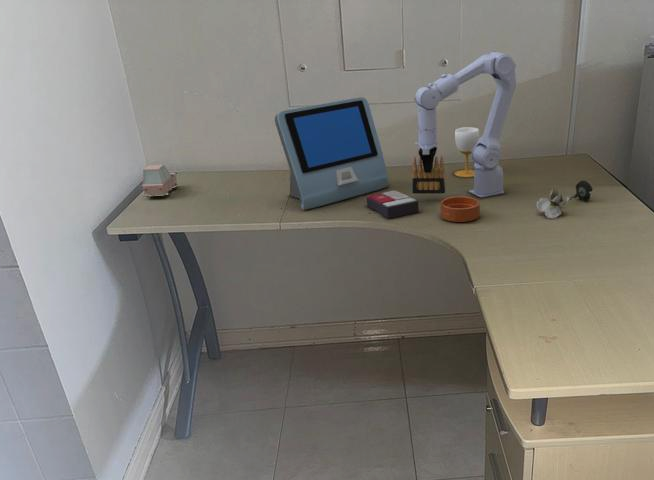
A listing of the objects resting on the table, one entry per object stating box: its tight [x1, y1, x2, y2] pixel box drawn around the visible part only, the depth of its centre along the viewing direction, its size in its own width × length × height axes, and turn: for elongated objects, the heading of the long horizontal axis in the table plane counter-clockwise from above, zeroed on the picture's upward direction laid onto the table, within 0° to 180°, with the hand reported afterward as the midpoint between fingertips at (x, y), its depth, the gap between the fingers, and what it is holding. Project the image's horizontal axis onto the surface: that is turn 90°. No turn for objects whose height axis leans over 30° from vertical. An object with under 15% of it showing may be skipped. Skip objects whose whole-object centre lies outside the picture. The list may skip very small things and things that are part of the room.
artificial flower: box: [536, 180, 594, 219], centre depth 201 cm, size 9×22×10 cm, turn 129°
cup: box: [454, 126, 480, 178], centre depth 234 cm, size 9×9×16 cm
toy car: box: [141, 164, 178, 197], centre depth 226 cm, size 9×15×10 cm, turn 1°
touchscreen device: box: [274, 97, 389, 211], centre depth 214 cm, size 35×20×30 cm, turn 131°
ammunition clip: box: [411, 155, 446, 195], centre depth 208 cm, size 11×2×12 cm, turn 85°
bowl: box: [439, 196, 481, 223], centre depth 197 cm, size 12×12×4 cm
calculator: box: [366, 190, 419, 219], centre depth 205 cm, size 11×4×15 cm
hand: (428, 171), depth 207 cm, fingers closed on ammunition clip, 1 cm apart
